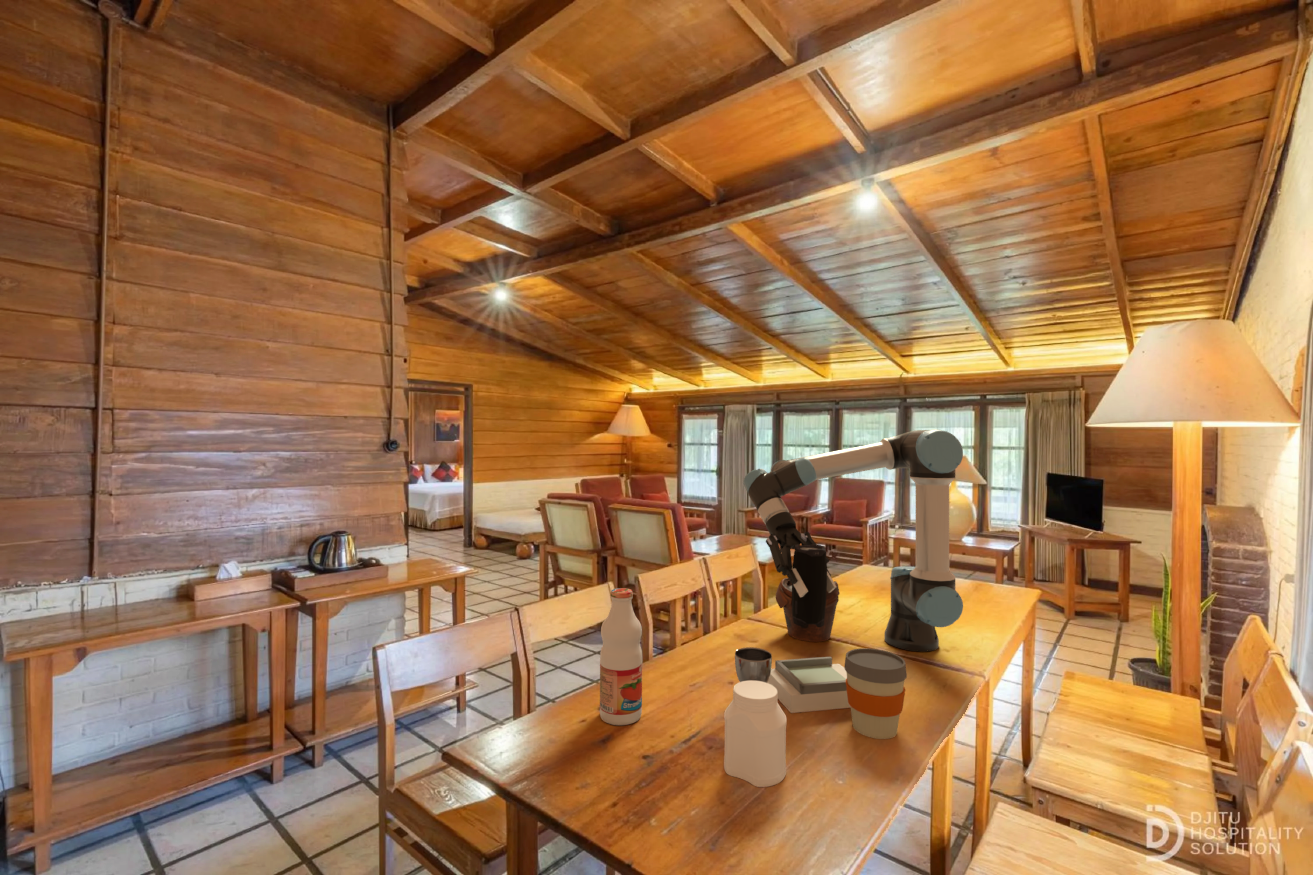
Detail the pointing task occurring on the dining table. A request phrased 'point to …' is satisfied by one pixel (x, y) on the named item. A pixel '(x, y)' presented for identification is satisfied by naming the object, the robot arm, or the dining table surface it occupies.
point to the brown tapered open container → (809, 630)
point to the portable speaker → (810, 585)
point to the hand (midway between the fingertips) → (818, 591)
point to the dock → (810, 684)
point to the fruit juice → (621, 662)
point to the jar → (755, 734)
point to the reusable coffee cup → (875, 691)
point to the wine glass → (753, 664)
